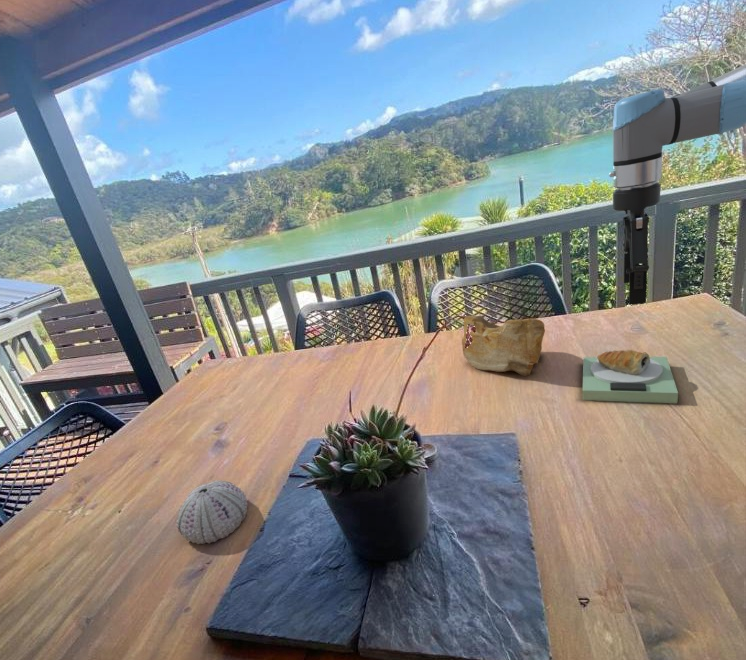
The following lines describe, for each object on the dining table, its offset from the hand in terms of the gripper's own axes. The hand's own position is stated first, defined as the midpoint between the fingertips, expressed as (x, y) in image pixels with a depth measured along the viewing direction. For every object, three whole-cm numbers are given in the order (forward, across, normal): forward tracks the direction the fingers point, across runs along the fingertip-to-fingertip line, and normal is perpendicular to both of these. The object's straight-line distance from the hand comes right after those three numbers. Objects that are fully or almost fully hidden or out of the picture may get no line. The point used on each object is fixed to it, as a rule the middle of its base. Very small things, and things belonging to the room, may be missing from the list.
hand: (634, 292), depth 90 cm
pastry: (+16, +4, -2) cm, 16 cm away
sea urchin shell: (+18, +62, -71) cm, 97 cm away
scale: (+19, +5, -2) cm, 20 cm away
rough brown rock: (+19, -5, -26) cm, 32 cm away
